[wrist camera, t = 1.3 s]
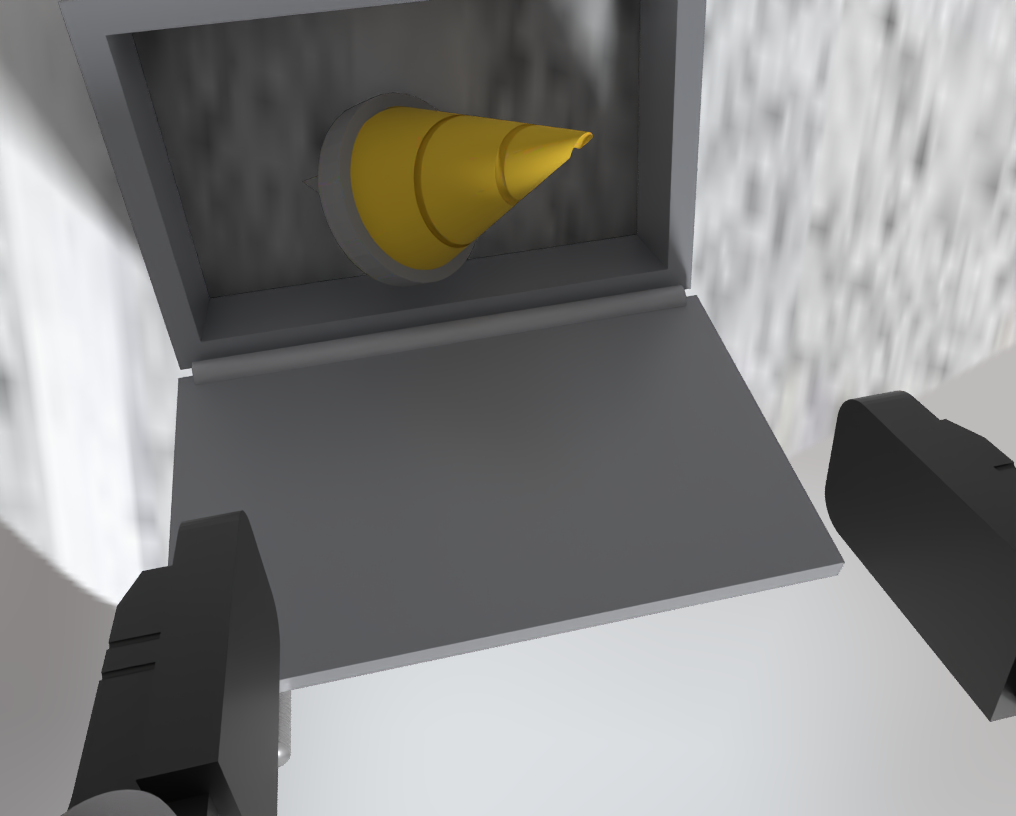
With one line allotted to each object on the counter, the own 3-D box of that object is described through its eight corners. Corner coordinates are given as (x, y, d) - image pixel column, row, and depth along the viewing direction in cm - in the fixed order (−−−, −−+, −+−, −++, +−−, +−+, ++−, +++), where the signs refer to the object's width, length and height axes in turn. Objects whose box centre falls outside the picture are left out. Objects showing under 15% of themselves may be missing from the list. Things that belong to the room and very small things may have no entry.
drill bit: (267, 101, 25) (520, -26, 18) (404, 157, 29) (655, 70, 22) (254, 279, 25) (511, 216, 18) (396, 311, 29) (650, 270, 22)
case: (667, -73, 24) (709, -65, 22) (658, 252, 30) (690, 288, 27) (84, -14, 22) (58, 2, 20) (191, 324, 28) (180, 369, 25)
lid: (850, 553, 20) (838, 575, 21) (693, 277, 27) (689, 301, 28) (154, 697, 18) (169, 715, 19) (174, 359, 25) (185, 382, 26)
